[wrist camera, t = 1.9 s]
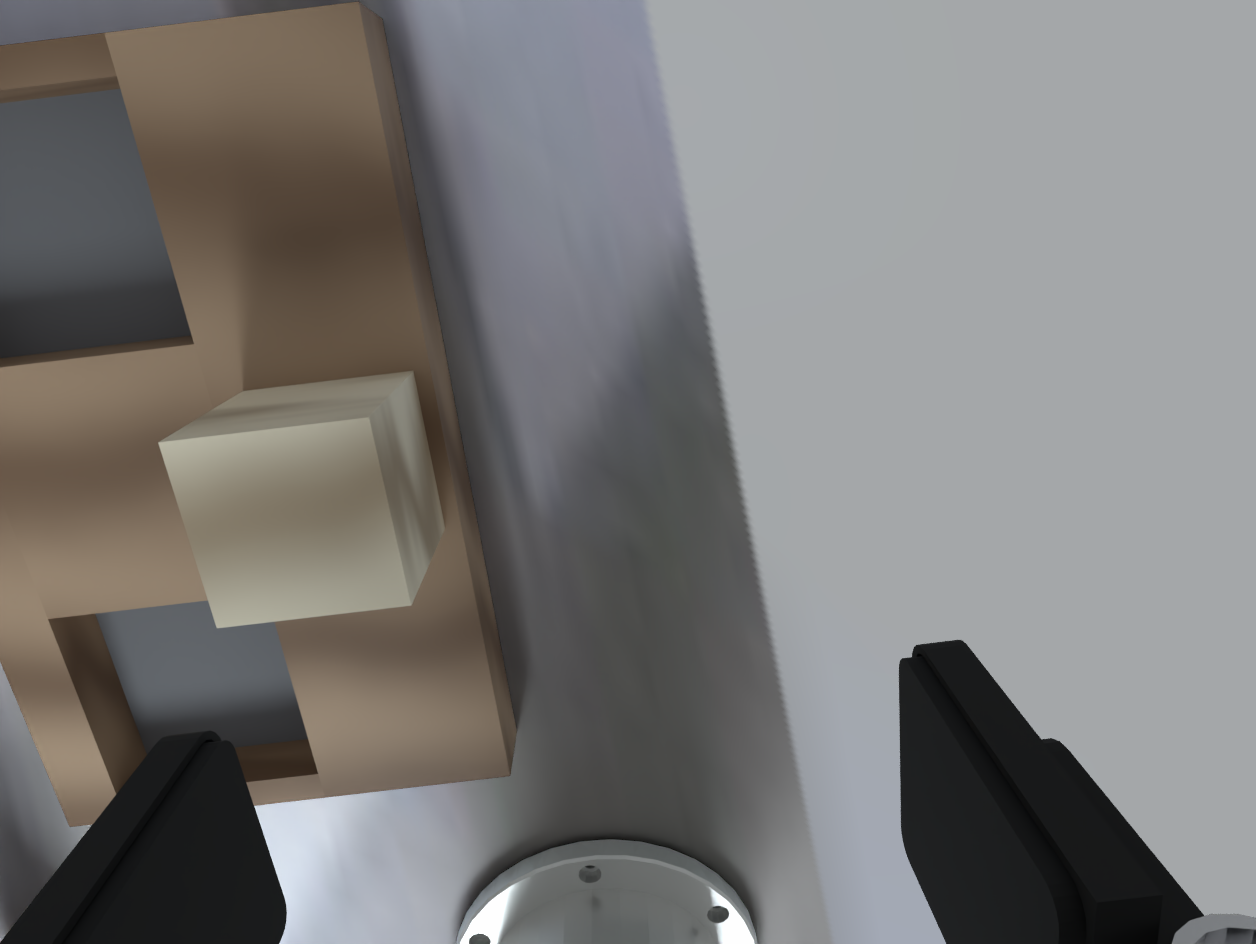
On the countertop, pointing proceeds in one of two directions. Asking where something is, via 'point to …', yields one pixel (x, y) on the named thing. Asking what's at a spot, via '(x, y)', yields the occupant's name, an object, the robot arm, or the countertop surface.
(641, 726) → the countertop surface
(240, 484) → the maple block
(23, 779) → the countertop surface
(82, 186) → the trap board
